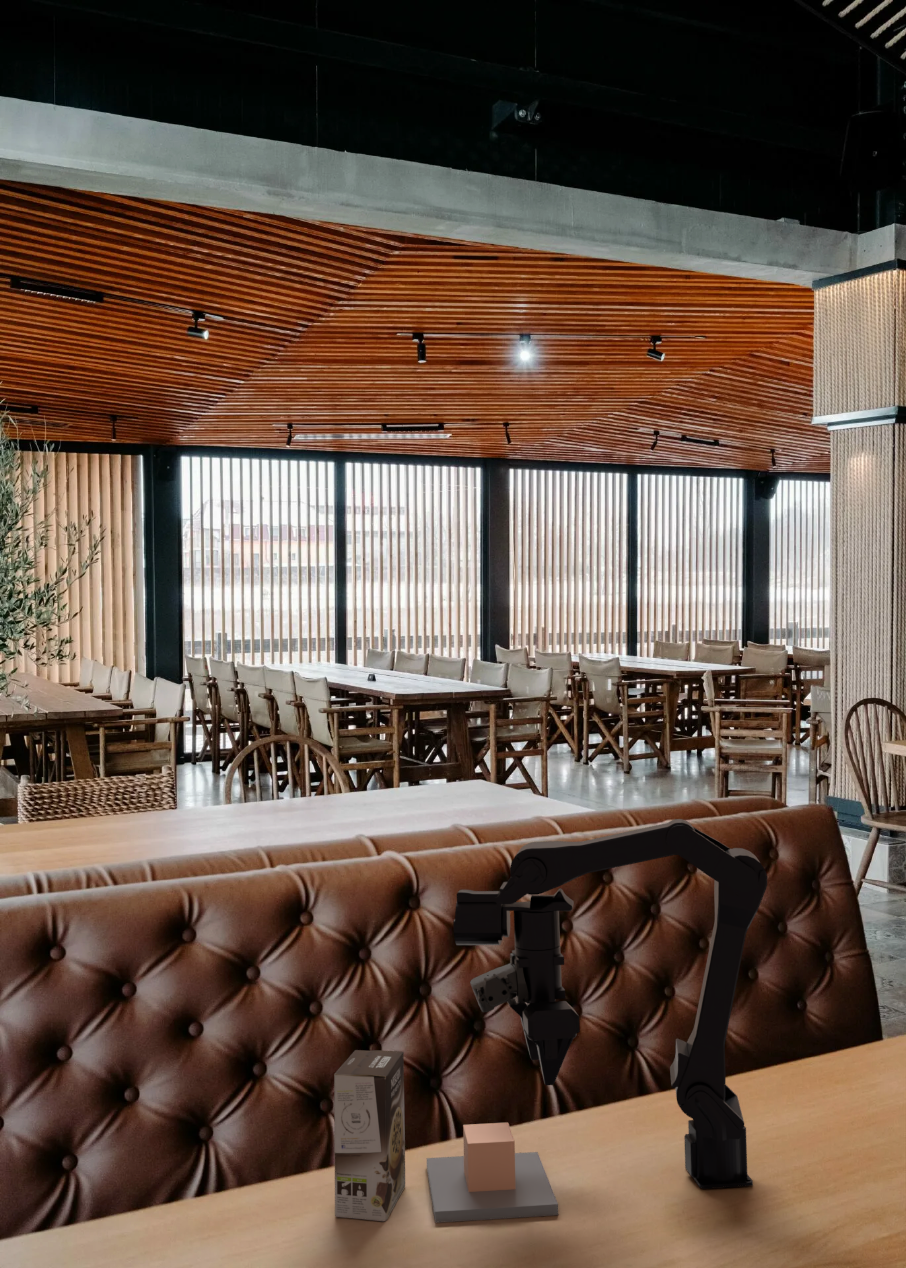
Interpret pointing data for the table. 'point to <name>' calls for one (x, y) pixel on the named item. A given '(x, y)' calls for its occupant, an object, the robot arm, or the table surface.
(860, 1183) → the table surface
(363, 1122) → the coffee box
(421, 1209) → the table surface
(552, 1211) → the slate board
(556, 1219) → the table surface
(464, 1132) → the terracotta block
